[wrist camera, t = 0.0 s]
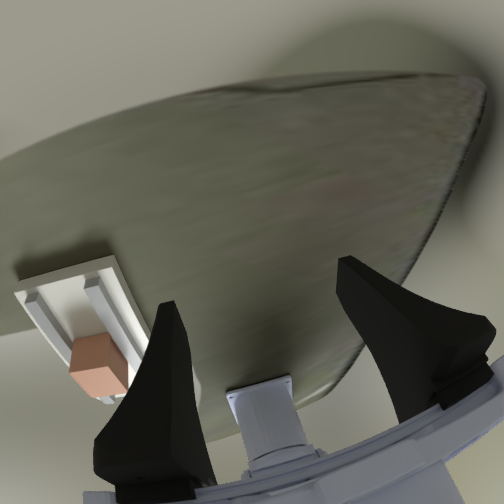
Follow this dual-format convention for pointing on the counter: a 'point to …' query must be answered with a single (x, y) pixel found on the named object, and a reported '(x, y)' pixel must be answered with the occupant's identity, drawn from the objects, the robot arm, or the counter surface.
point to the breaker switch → (99, 366)
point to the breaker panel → (86, 310)
